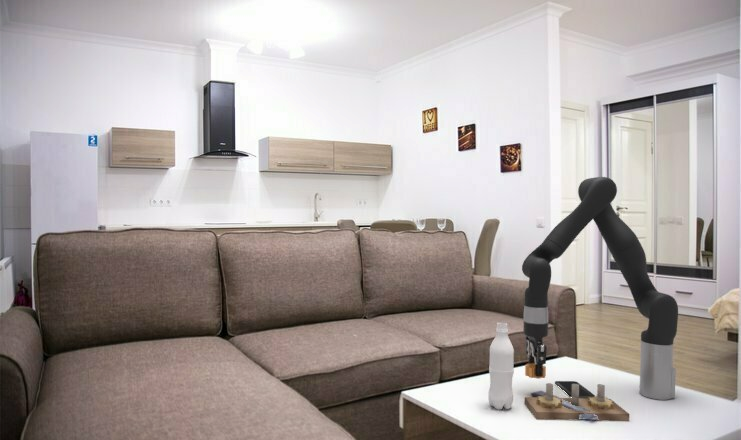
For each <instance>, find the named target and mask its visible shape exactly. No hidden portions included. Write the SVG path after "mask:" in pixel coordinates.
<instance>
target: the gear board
mask: <svg viewBox="0 0 741 440" xmlns="http://www.w3.org/2000/svg"><path fill="white" fill-rule="evenodd" d="M596 392H597V394H596V395H595V396H594V397H592V398H591V397H588V398H579V385H578V384H572V398H570V397H557V396H555V395H554V384H553V383H551V382H548V383H546V384H545V395H544V394H543V395H542V396H540V395H538V396H536V397H535V396H524V405H525V406H526V408H527V409H528V410H529V411H530V412H531V414H532V415H533V417H534V418H535V419H536V420H555V419H579V415H580V414H584V413H587V414H595V415H597V416H598V419H599V420H598V421H602V420H609V422H611V421H612V422H613V421H614V422H630V413H629V412H628V411H626V410H625V409H624V408H623V407H621V406H620V405H619V404H617V402H615V401H614V400H612V399H611V398H608V397H606V396H605V394H606V393H605V392H606V385H605V384H601V383H599V384H597V391H596ZM558 398H560V399H558ZM562 399H563V400H565V401H568V402H571V404H572V405H575V406H580V407H583V408H585V409H588V410H591V411H590V412H589V411H576V410H572V409H568V408H566V407H564V406H562Z"/></svg>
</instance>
